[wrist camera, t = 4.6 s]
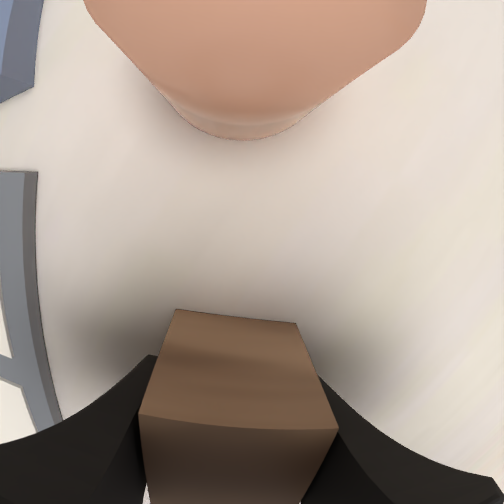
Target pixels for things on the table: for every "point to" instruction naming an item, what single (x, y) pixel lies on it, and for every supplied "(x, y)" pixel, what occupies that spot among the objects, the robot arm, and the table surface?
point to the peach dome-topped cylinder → (254, 54)
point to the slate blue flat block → (18, 45)
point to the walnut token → (233, 413)
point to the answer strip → (21, 317)
